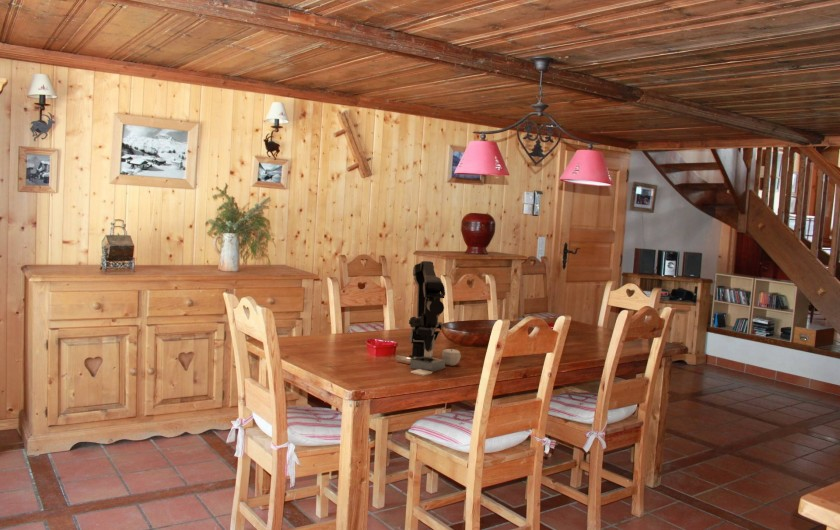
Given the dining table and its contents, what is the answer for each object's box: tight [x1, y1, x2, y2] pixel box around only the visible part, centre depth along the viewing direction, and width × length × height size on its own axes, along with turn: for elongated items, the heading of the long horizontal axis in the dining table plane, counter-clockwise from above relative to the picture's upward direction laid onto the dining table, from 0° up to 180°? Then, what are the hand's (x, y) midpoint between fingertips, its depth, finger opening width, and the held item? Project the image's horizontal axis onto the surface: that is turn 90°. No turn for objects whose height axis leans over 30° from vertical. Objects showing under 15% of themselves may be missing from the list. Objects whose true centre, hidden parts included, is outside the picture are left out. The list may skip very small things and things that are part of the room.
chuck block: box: [395, 354, 446, 373], centre depth 288 cm, size 10×20×4 cm, turn 57°
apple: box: [441, 348, 462, 367], centre depth 295 cm, size 8×8×7 cm
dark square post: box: [424, 338, 436, 361], centre depth 285 cm, size 3×3×10 cm
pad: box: [410, 369, 433, 376], centre depth 277 cm, size 6×6×1 cm
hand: (428, 349), depth 285 cm, fingers closed on dark square post, 3 cm apart
